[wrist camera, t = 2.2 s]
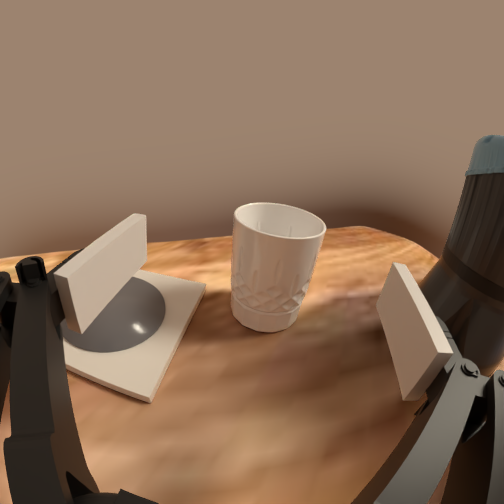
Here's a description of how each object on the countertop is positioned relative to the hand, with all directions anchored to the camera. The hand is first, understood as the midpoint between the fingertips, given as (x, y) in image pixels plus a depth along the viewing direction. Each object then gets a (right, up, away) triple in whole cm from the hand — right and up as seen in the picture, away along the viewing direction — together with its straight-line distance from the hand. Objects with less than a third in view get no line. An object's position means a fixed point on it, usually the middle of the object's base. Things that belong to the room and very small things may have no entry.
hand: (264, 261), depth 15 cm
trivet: (-14, -6, +10) cm, 18 cm away
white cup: (+1, -6, +15) cm, 16 cm away
